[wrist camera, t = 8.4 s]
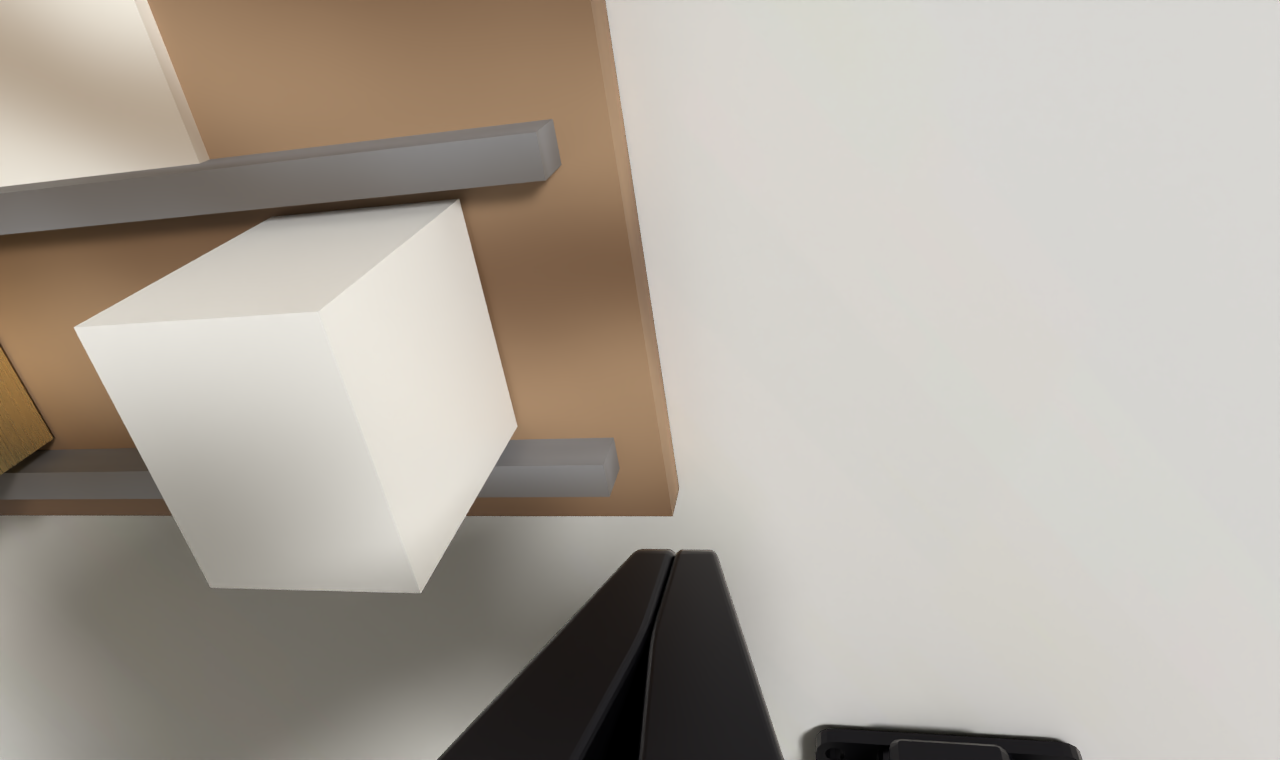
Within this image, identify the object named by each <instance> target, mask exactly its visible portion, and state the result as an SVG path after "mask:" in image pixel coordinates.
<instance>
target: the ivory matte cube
mask: <svg viewBox="0 0 1280 760" xmlns="http://www.w3.org/2000/svg"><path fill="white" fill-rule="evenodd" d="M74 329H75V331H76V333H77V335H78V337H79V339H80V341H81V343H82V345H83V346H84V348H85V350H86V352H87V354H88V356H89V358H90V360H91V362H92V364H93V366H94V367H95V369H96V371H97V373H98V375H99V377H100V379H101V381H102V383H103V385H104V386H105V388H106V390H107V392H108V394H109V396H110V398H111V400H112V402H113V404H114V405H115V407H116V409H117V411H118V413H119V415H120V417H121V419H122V421H123V423H124V424H125V426H126V428H127V430H128V432H129V434H130V436H131V438H132V440H133V442H134V444H135V445H136V447H137V449H138V451H139V453H140V455H141V457H142V459H143V461H144V463H145V464H146V466H147V468H148V470H149V472H150V474H151V476H152V478H153V480H154V482H155V483H156V485H157V487H158V489H159V491H160V493H161V495H162V497H163V499H164V501H165V502H166V504H167V506H168V508H169V510H170V512H171V514H172V516H173V518H174V520H175V522H176V523H177V525H178V527H179V529H180V531H181V533H182V535H183V537H184V539H185V541H186V542H187V544H188V546H189V548H190V550H191V552H192V554H193V556H194V558H195V560H196V561H197V563H198V565H199V567H200V569H201V571H202V573H203V575H204V577H205V579H206V581H207V582H208V584H209V586H210V588H230V589H269V590H308V591H347V592H386V593H421V592H422V591H423V589H424V587H425V585H426V584H427V582H428V580H429V579H430V577H431V575H432V573H433V572H434V570H435V568H436V566H437V565H438V563H439V561H440V560H441V558H442V556H443V554H444V553H445V551H446V549H447V547H448V546H449V544H450V542H451V541H452V539H453V537H454V535H455V534H456V532H457V530H458V528H459V527H460V525H461V523H462V522H463V520H464V518H465V516H466V515H467V513H468V511H469V509H470V508H471V506H472V504H473V503H474V501H475V499H476V497H477V496H478V494H479V492H480V490H481V489H482V487H483V485H484V484H485V482H486V480H487V478H488V477H489V475H490V473H491V471H492V470H493V468H494V466H495V465H496V463H497V461H498V459H499V458H500V456H501V454H502V452H503V451H504V449H505V447H506V446H507V444H508V442H509V440H510V439H511V437H512V435H513V433H514V432H515V430H516V428H517V427H518V426H517V423H516V419H515V415H514V411H513V407H512V403H511V399H510V395H509V391H508V387H507V384H506V380H505V376H504V372H503V368H502V364H501V360H500V356H499V352H498V348H497V344H496V341H495V337H494V333H493V329H492V325H491V321H490V317H489V313H488V309H487V305H486V301H485V298H484V294H483V290H482V286H481V282H480V278H479V274H478V270H477V266H476V262H475V259H474V255H473V251H472V247H471V243H470V239H469V235H468V231H467V227H466V223H465V219H464V216H463V212H462V208H461V204H460V200H459V199H451V200H440V201H430V202H420V203H409V204H399V205H389V206H378V207H368V208H358V209H347V210H337V211H327V212H316V213H306V214H296V215H286V216H275V217H271V218H269V219H267V220H265V221H263V222H262V223H260V224H258V225H256V226H254V227H253V228H251V229H249V230H247V231H245V232H244V233H242V234H240V235H238V236H237V237H235V238H233V239H231V240H229V241H228V242H226V243H224V244H222V245H220V246H219V247H217V248H215V249H213V250H211V251H210V252H208V253H206V254H204V255H202V256H201V257H199V258H197V259H195V260H193V261H192V262H190V263H188V264H186V265H184V266H183V267H181V268H179V269H177V270H176V271H174V272H172V273H170V274H168V275H167V276H165V277H163V278H161V279H159V280H158V281H156V282H154V283H152V284H150V285H149V286H147V287H145V288H143V289H141V290H140V291H138V292H136V293H134V294H132V295H131V296H129V297H127V298H125V299H124V300H122V301H120V302H118V303H116V304H115V305H113V306H111V307H109V308H107V309H106V310H104V311H102V312H100V313H98V314H97V315H95V316H93V317H91V318H89V319H88V320H86V321H84V322H82V323H80V324H79V325H77V326H75V327H74Z"/></svg>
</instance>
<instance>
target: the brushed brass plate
mask: <svg viewBox="0 0 1280 760" xmlns="http://www.w3.org/2000/svg"><path fill="white" fill-rule="evenodd" d="M52 439H53V437H52V435H51V433H50V432H49V430H48V428H47V426H46V425H45V423H44V421H43V420H42V418H41V416H40V414H39V413H38V411H37V409H36V408H35V406H34V404H33V402H32V401H31V399H30V397H29V395H28V394H27V392H26V390H25V389H24V387H23V385H22V383H21V382H20V380H19V378H18V376H17V375H16V373H15V371H14V370H13V368H12V366H11V364H10V363H9V361H8V359H7V358H6V356H5V354H4V352H3V351H2V349H1V347H0V475H1V474H3V473H4V472H6V471H7V470H9V469H10V468H11V467H13V466H14V465H16V464H17V463H19V462H20V461H22V460H23V459H25V458H26V457H27V456H29V455H30V454H32V453H33V452H35V451H36V450H38V449H39V448H40V447H42V446H43V445H45V444H46V443H48V442H49V441H51V440H52Z"/></svg>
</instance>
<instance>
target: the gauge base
mask: <svg viewBox="0 0 1280 760" xmlns="http://www.w3.org/2000/svg"><path fill="white" fill-rule="evenodd" d="M451 199H459V200H460V204H461V208H462V212H463V216H464V219H465V223H466V227H467V231H468V235H469V239H470V243H471V247H472V251H473V255H474V259H475V262H476V266H477V270H478V274H479V278H480V282H481V286H482V290H483V294H484V298H485V301H486V305H487V309H488V313H489V317H490V321H491V325H492V329H493V333H494V337H495V341H496V344H497V348H498V352H499V356H500V360H501V364H502V368H503V372H504V376H505V380H506V384H507V387H508V391H509V395H510V399H511V403H512V407H513V411H514V415H515V419H516V423H517V426H518V427H517V428H516V430H515V432H514V433H513V435H512V437H511V439H510V440H509V442H508V444H507V446H506V447H505V449H504V451H503V452H502V454H501V456H500V458H499V459H498V461H497V463H496V465H495V466H494V468H493V470H492V471H491V473H490V475H489V477H488V478H487V480H486V482H485V484H484V485H483V487H482V489H481V490H480V492H479V494H478V496H477V497H476V499H475V501H474V503H473V504H472V506H471V508H470V509H469V511H468V513H467V515H466V516H673V512H674V508H675V504H676V500H677V495H678V491H679V485H678V479H677V472H676V465H675V459H674V452H673V446H672V439H671V432H670V426H669V419H668V413H667V406H666V399H665V393H664V386H663V379H662V373H661V366H660V360H659V353H658V346H657V340H656V333H655V327H654V320H653V313H652V307H651V300H650V294H649V287H648V280H647V274H646V267H645V261H644V254H643V247H642V241H641V234H640V228H639V221H638V214H637V208H636V201H635V195H634V188H633V181H632V175H631V168H630V162H629V155H628V148H627V142H626V135H625V128H624V122H623V115H622V109H621V102H620V95H619V89H618V82H617V76H616V69H615V62H614V56H613V49H612V43H611V36H610V29H609V23H608V16H607V10H606V3H605V0H0V347H1V349H2V351H3V352H4V354H5V356H6V358H7V359H8V361H9V363H10V364H11V366H12V368H13V370H14V371H15V373H16V375H17V376H18V378H19V380H20V382H21V383H22V385H23V387H24V389H25V390H26V392H27V394H28V395H29V397H30V399H31V401H32V402H33V404H34V406H35V408H36V409H37V411H38V413H39V414H40V416H41V418H42V420H43V421H44V423H45V425H46V426H47V428H48V430H49V432H50V433H51V435H52V437H53V439H52V440H51V441H49V442H48V443H46V444H45V445H43V446H42V447H40V448H39V449H38V450H36V451H35V452H33V453H32V454H30V455H29V456H27V457H26V458H25V459H23V460H22V461H20V462H19V463H17V464H16V465H14V466H13V467H11V468H10V469H9V470H7V471H6V472H4V473H3V474H1V475H0V515H155V516H172V514H171V512H170V510H169V508H168V506H167V504H166V502H165V501H164V499H163V497H162V495H161V493H160V491H159V489H158V487H157V485H156V483H155V482H154V480H153V478H152V476H151V474H150V472H149V470H148V468H147V466H146V464H145V463H144V461H143V459H142V457H141V455H140V453H139V451H138V449H137V447H136V445H135V444H134V442H133V440H132V438H131V436H130V434H129V432H128V430H127V428H126V426H125V424H124V423H123V421H122V419H121V417H120V415H119V413H118V411H117V409H116V407H115V405H114V404H113V402H112V400H111V398H110V396H109V394H108V392H107V390H106V388H105V386H104V385H103V383H102V381H101V379H100V377H99V375H98V373H97V371H96V369H95V367H94V366H93V364H92V362H91V360H90V358H89V356H88V354H87V352H86V350H85V348H84V346H83V345H82V343H81V341H80V339H79V337H78V335H77V333H76V331H75V329H74V327H75V326H77V325H79V324H80V323H82V322H84V321H86V320H88V319H89V318H91V317H93V316H95V315H97V314H98V313H100V312H102V311H104V310H106V309H107V308H109V307H111V306H113V305H115V304H116V303H118V302H120V301H122V300H124V299H125V298H127V297H129V296H131V295H132V294H134V293H136V292H138V291H140V290H141V289H143V288H145V287H147V286H149V285H150V284H152V283H154V282H156V281H158V280H159V279H161V278H163V277H165V276H167V275H168V274H170V273H172V272H174V271H176V270H177V269H179V268H181V267H183V266H184V265H186V264H188V263H190V262H192V261H193V260H195V259H197V258H199V257H201V256H202V255H204V254H206V253H208V252H210V251H211V250H213V249H215V248H217V247H219V246H220V245H222V244H224V243H226V242H228V241H229V240H231V239H233V238H235V237H237V236H238V235H240V234H242V233H244V232H245V231H247V230H249V229H251V228H253V227H254V226H256V225H258V224H260V223H262V222H263V221H265V220H267V219H269V218H271V217H275V216H286V215H296V214H306V213H316V212H327V211H337V210H347V209H358V208H368V207H378V206H389V205H399V204H409V203H420V202H430V201H440V200H451Z"/></svg>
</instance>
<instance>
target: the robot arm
mask: <svg viewBox="0 0 1280 760" xmlns="http://www.w3.org/2000/svg"><path fill="white" fill-rule="evenodd" d="M437 760H784V758H783V755H782V752H781V749H780V746H779V743H778V740H777V737H776V734H775V731H774V728H773V725H772V722H771V719H770V715H769V712H768V709H767V706H766V703H765V700H764V697H763V694H762V691H761V688H760V685H759V682H758V679H757V676H756V673H755V669H754V666H753V663H752V660H751V657H750V654H749V651H748V648H747V645H746V642H745V639H744V636H743V633H742V630H741V627H740V623H739V620H738V617H737V614H736V611H735V608H734V605H733V602H732V599H731V596H730V593H729V590H728V587H727V584H726V581H725V577H724V574H723V571H722V568H721V565H720V562H719V559H718V556H717V554H716V553H715V552H714V551H713V550H680V551H679V552H677V553H676V554H675V552H673V551H672V550H669V549H640V550H637V551H636V552H634V553H633V554H632V555H631V556H630V557H629V558H628V559H627V560H626V561H625V562H624V563H623V564H622V565H621V566H620V567H619V568H618V570H617V571H616V572H615V573H614V574H613V575H612V576H611V577H610V578H609V579H608V580H607V581H606V582H605V583H604V584H603V585H602V586H601V587H600V588H599V590H598V591H597V592H596V593H595V594H594V595H593V596H592V597H591V598H590V599H589V600H588V601H587V602H586V603H585V604H584V605H583V606H582V607H581V608H580V610H579V611H578V612H577V613H576V614H575V615H574V616H573V617H572V618H571V619H570V620H569V621H568V622H567V623H566V624H565V625H564V626H563V627H562V628H561V630H560V631H559V632H558V633H557V634H556V635H555V636H554V637H553V638H552V639H551V640H550V641H549V642H548V643H547V644H546V645H545V646H544V647H543V648H542V650H541V651H540V652H539V653H538V654H537V655H536V656H535V657H534V658H533V659H532V660H531V661H530V662H529V663H528V664H527V665H526V666H525V667H524V669H523V670H522V671H521V672H520V673H519V674H518V675H517V676H516V677H515V678H514V679H513V680H512V681H511V682H510V683H509V684H508V685H507V686H506V687H505V689H504V690H503V691H502V692H501V693H500V694H499V695H498V696H497V697H496V698H495V699H494V700H493V701H492V702H491V703H490V704H489V705H488V706H487V707H486V709H485V710H484V711H483V712H482V713H481V714H480V715H479V716H478V717H477V718H476V719H475V720H474V721H473V722H472V723H471V724H470V725H469V726H468V727H467V729H466V730H465V731H464V732H463V733H462V734H461V735H460V736H459V737H458V738H457V739H456V740H455V741H454V742H453V743H452V744H451V745H450V746H449V747H448V749H447V750H446V751H445V752H444V753H443V754H442V755H441V756H440V757H439V758H438V759H437ZM816 760H1082V757H1081V754H1080V751H1079V750H1078V749H1077V748H1076V747H1075V746H1073V745H1071V744H1068V743H1062V742H1049V741H1032V740H1016V739H999V738H982V737H966V736H949V735H933V734H916V733H899V732H883V731H866V730H849V729H826V730H823V731H821V732H820V733H819V734H818V735H817V737H816Z"/></svg>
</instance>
